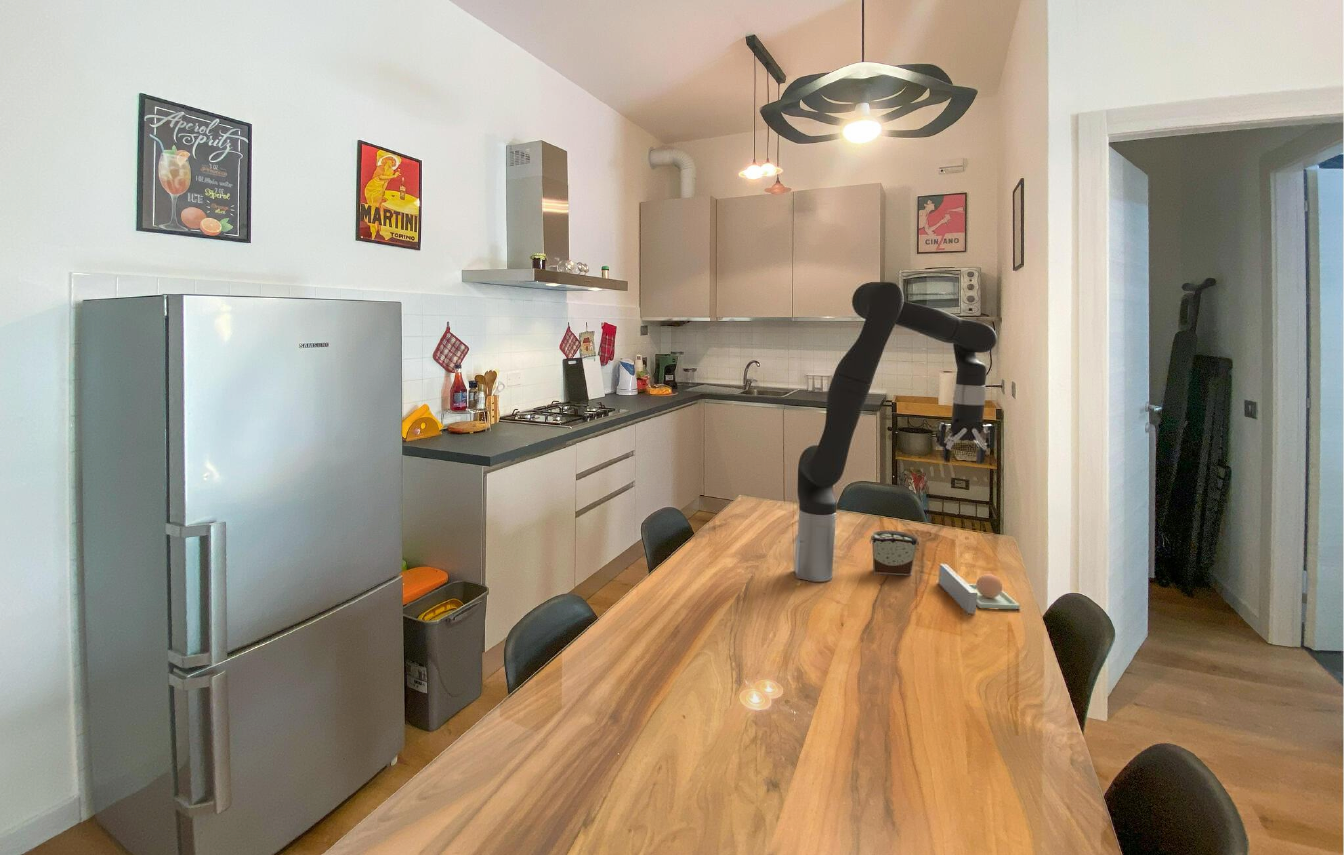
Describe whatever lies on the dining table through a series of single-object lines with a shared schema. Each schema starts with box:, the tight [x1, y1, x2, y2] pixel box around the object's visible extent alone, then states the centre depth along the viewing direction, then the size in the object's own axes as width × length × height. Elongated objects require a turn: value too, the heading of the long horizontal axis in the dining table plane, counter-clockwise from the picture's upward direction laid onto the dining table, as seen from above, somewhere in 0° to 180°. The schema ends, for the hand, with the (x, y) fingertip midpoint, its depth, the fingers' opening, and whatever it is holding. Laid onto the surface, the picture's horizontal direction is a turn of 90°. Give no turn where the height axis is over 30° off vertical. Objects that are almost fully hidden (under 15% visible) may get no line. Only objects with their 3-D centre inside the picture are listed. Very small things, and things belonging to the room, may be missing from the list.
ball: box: [975, 573, 1003, 598], centre depth 154 cm, size 6×6×6 cm
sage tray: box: [967, 583, 1021, 610], centre depth 155 cm, size 9×12×1 cm
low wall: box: [937, 563, 977, 614], centre depth 155 cm, size 2×18×5 cm, turn 179°
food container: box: [869, 529, 920, 576], centre depth 171 cm, size 12×6×10 cm, turn 84°
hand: (963, 462), depth 173 cm, fingers open, 8 cm apart
